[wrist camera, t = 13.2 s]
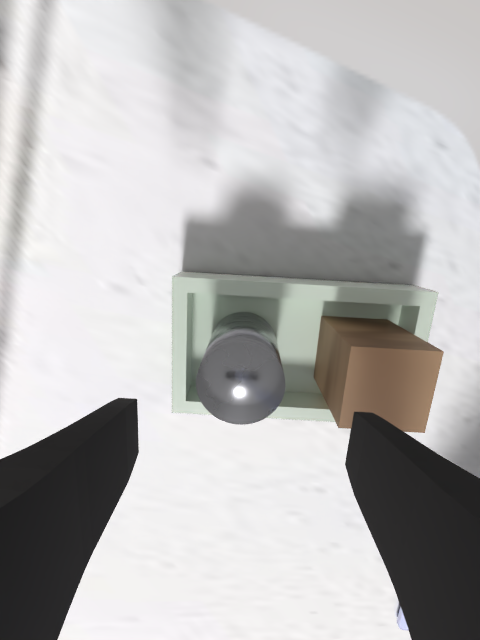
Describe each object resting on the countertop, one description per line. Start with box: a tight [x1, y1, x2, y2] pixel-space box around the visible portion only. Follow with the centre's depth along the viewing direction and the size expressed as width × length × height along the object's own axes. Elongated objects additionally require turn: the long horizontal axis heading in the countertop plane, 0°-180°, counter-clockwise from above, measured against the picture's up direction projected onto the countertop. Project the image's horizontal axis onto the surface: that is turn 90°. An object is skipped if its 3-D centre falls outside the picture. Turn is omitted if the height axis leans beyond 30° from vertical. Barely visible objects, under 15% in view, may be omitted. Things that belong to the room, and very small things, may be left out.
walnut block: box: [314, 316, 443, 433], centre depth 17 cm, size 4×4×6 cm
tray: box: [172, 272, 438, 422], centre depth 19 cm, size 14×8×2 cm, turn 87°
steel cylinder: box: [196, 312, 285, 424], centre depth 17 cm, size 4×4×6 cm
